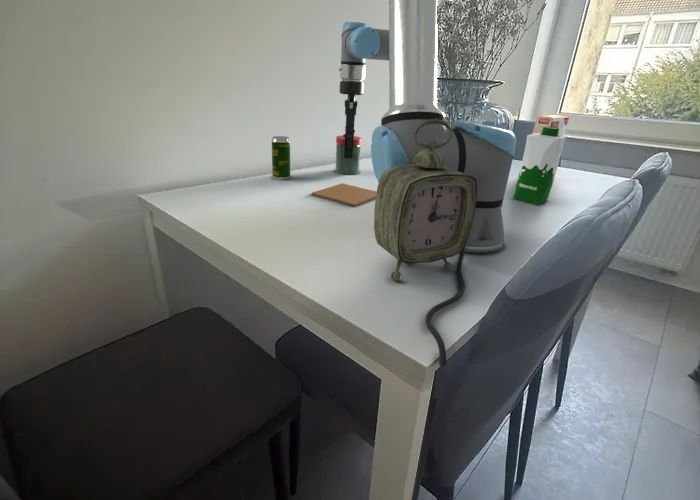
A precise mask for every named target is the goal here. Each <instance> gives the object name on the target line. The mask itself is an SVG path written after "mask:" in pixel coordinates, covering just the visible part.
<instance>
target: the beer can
mask: <svg viewBox="0 0 700 500" xmlns="http://www.w3.org/2000/svg"><path fill="white" fill-rule="evenodd" d="M271 138H272V139H271V167H272V168H271V169H272V171H271V173H272V177H273V179H274V180H279V181H282V180H289V179H290V177H291V140H290V137H289V136H284V135H274V136H272V137H271Z"/></svg>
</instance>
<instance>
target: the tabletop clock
mask: <svg viewBox="0 0 700 500" xmlns="http://www.w3.org/2000/svg"><path fill="white" fill-rule="evenodd" d="M429 124H441V125H444V126H445V128H447V129H448V130H449V137H448V139H446V140H445V141H444V142H441V143H437V144H436V140H435V139H434V138H432V139H430V140H429V144H424V143H421V142H420V141H419V140H417V133H418V131H419V130H420V129H421V128H422V127H423V126H426V125H429ZM452 129H453V127H452V126H451V124H450V123H449V122H447V121H446V120H445V121H444V120H439V119H431V120H426V121H424V122H422V123H421V124H420V125H419V126H418V127H417V128H416V130H415V132H414V141H415V142H416V144H417V145H418V146H420V147H423V148H427V149H428V150H423V151H420V152H419V153H418V154H417V155H416V157H415V159H414V161H413V164H408V165H400V166H395V167H392V168H390V169H388V170H386V171H384V172H383V173H382V175H381V177H380V180H379V182H378V183H377V188H376V192H377V195H376V198H375V202H374V210H373V211H374V215H373V216H374V218H373V219H374V222H373V231H374V239H375V240H376V244H377V245H379V246H380V248H383V249H384V250H385V251H386V252H387V253H389V254H390V255H391V256H392V257H393V258H395V259H396V264H395V265H396V266H395V270H393V271H392V272H391V274H390V278H391V280H392V281H394V282H399V281H400V279H401V277H402V275H401V272H400V269H401V266H402V264H405V265H415V264H416V265H417V264H424V263H425V264H426V263H435V262H437V261H441V260H442V261H443V269H444V270H445V271H447V272H450V271H452V270H453V268H454V265H453V263H452V262H451V261H448V260H447V259H448V258H452V257H454V256H456V255H459V254H460V252H461V251H462V250H463V248H464V246H465V244H466V242H467V240H468V237H469V234H470V230H471V226H472V222H473V219H474V214H475V207H476V200H477V182H476V178H474V177H472V176H470V175H467V174H464V173H462V172H459V171H456V170H453V169H450V168H447V167H446V165H445V159H444V157H443V155H442V154H441V153H440V152H438V151H434V150H435V148H440V147H442V146H444V145H446V144H447V143H448V142H449V141H450V139H451V137H452Z"/></svg>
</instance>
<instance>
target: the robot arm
mask: <svg viewBox="0 0 700 500" xmlns="http://www.w3.org/2000/svg"><path fill="white" fill-rule="evenodd" d="M446 1H453V0H388V29H383V28H382V29H381V28H373V27H371V26H368V24H367V23H366V22H365V23H364V22H361V21H346V22H344V23H343V24H342V27H341V28H342V30H341V35H340V38H341V46H340V47H341V49H340V51H341V52H340V67H338V72H340V75H339V76H340V77H339V78H340V79H341V80H340V81H339V91H338V92H339V94H340V95H347V98H346V99H344V115H345V127H344V134H342V136H343V137H345V148H344V158H352V157H353V141H354V136H355V133H356V129H355V118H356V116H357V108H358V101H357V100H356V96H363V95H364V94H365V93H364V91H365V82H364V81H365V79H366V68H367V67H366V62H367V61H366V60H374V61H375V60H376V61H388V71H389V72H388V75H389V77H388V79H389V80H388V85H389V86H388V87H389V88H388V89H389V90H388V91H389V92H388V95H389V98H388V100H389V102H388V103H389V108H388V110H387V111H386V112H385V113H384V115H382V117H381V120H380V121H381V122H380V125H378V126H377V127H375V129H373V131H372V135H371V144H370V157H371V164H372V169H373V172H374V175H375V178H376V180H377V182H378V183H379V180H380V177H381V175H382V173H383V172H384V171H386V170H388V169H390V168H392V167H395V166H400V165H408V164H413V161H414V159H415V157H416V155H417V154H418V153H419V152H420V151H423V150H428V149H427V148H423V147H420V146H418V145H417V144H416V142H415V141H414V132H415V130H416V128H417V127H418V126H419V125H420V124H421V123H422V122H424V121H426V120H431V119H439V120H444V121H446V114H445V113H444V112H443V111H442V110H441V109H440V108H439V107H438V106H437V105H438V104H437V103H438V101H437V100H438V98H437V95H438V94H437V93H438V92H437V90H438V88H437V87H438V79H437V78H438V24H437V6H439V7H442V6H443V5H444V4H445V2H446ZM453 2H454V1H453ZM448 137H449V130H448V129H447V128H446V126H444V125H441V124H429V125H426V126H423V127H422V128H421V129H420V130H419V131H418V133H417V140H419V141H420V142H421V143H424V144H429V140H430V139H432V138H434V139H435V140H436V144H437V143H441V142H444V141H445V140H446V139H448ZM516 144H517V137H516V135H515V133H514V132H513V131H511V130H507V129H505V128H500V127H496V126H491V125H487V124H482V123H477V122H472V121H468V120H461V119H457V120H456V121H454V124H453V126H452V137H451V139H450V141H449V142H448V143H447V144H446V145H444V146H442V147H440V148H435V150H434V151H438V152H440V153H441V154H442V155H443V157H444V159H445V165H446V167H447V168H450V169H453V170H456V171H459V172H462V173H464V174H467V175H470V176H472V177H474V178H476V182H477V200H476V207H475V214H474V219H473V222H472V226H471V230H470V234H469V237H468V240H467V242H466V244H465V246H464V248H463V250H462V251H461V252H460V253H458V259H457V262H456V275H457V279H458V282H459V289H458V291H457V293H456V294H455V295H453V296H452V297H450V298H448V299H446V300H444V301H442V302H439V303H438V304H436V305H434V306H433V307H431V308H430V310H429V311H428V312H427V313H426V315H425V320H424V321H425V326H426V328H427V330H428V331H429V333H430V335H432V336H433V338H434V339H435V341H436V344H437V347H438V355H439V357H438V358H439V359H438V360H439V361H438V362H439V363H438V365H439V366H441V367H443V368H444V367H446V366H447V351H446V345H445V342H444V339H443V337H442V336H441V334H440V332H439V331H438V329H436V327H435V326H434V325H433V322H432V321H433V317H434V315H435V314H436V313H437V312H439V311H440V310H442V309H444V308H446V307H448V306H450V305H452V304H454V303H456V302H458V301H459V300H460V299H461V298H462V297H463V296H464V293H465V290H466V281H465V278H464V275H463V270H462V269H463V268H462V266H463V261H464V255H465V253H470V254H487V253H493V252H497V251H499V250H501V248H503V245H504V240H505V231H504V230H505V229H504V221H503V211H502V207H503V203H504V198H505V194H506V190H507V187H508V181H509V176H510V173H511V168H512V164H513V159H515V156H516V155H515V151H516ZM437 406H438V399H437V398H435V397H433V396H431V397H430V401H429V406H428V412H427V418H426V421H425V426H424V433H423V437H422V442H421V448H420V453H419V458H418V464H417V467H416V474H415V480H414V484H413V490H412V495H411V499H410V500H418V499H419V496H420V495H419V494H420V490H421V485H422V479H423V474H424V470H425V466H426V460H427V456H428V450H429V445H430V440H431V435H432V431H433V426H434V420H435V416H436V409H437Z"/></svg>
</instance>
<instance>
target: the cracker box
mask: <svg viewBox="0 0 700 500" xmlns="http://www.w3.org/2000/svg"><path fill="white" fill-rule="evenodd" d="M569 119H570V117H569V116H564V115H555V114H554V115H553V114H552V115H537V116H536V119H535V123H534V126H533V130H532V134H536V133H540V134H542V130H543V127H556V128H559V132H558V135H557V136H561V137H565V133H566V130H567V125H568V123H569Z"/></svg>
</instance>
